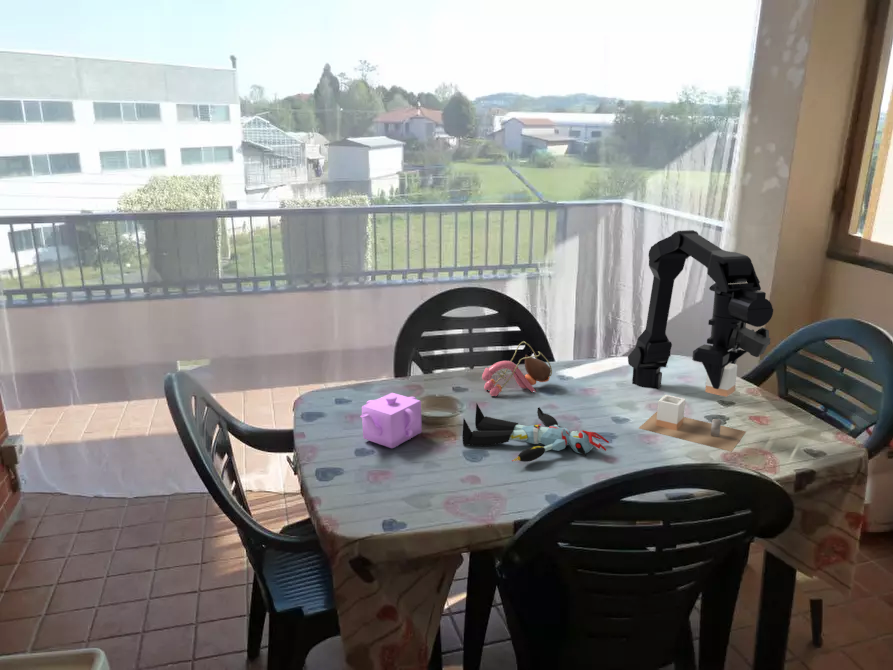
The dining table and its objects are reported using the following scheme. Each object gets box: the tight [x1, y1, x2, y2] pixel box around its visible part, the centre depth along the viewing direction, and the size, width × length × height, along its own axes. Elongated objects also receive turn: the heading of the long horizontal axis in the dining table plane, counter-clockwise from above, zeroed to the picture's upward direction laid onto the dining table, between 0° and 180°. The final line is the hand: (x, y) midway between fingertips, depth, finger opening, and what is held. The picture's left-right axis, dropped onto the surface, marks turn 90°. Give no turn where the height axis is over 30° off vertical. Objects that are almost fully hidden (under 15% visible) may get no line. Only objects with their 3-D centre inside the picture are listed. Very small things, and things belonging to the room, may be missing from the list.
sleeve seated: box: [656, 394, 686, 430], centre depth 151 cm, size 5×5×6 cm
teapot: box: [359, 392, 423, 449], centre depth 147 cm, size 18×14×10 cm
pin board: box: [638, 411, 747, 453], centre depth 148 cm, size 20×12×5 cm, turn 53°
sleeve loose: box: [704, 363, 738, 397], centre depth 143 cm, size 5×5×6 cm
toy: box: [462, 402, 610, 463], centre depth 145 cm, size 26×8×30 cm
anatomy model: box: [481, 341, 553, 397], centre depth 175 cm, size 11×15×17 cm
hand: (720, 385), depth 144 cm, fingers closed on sleeve loose, 5 cm apart
